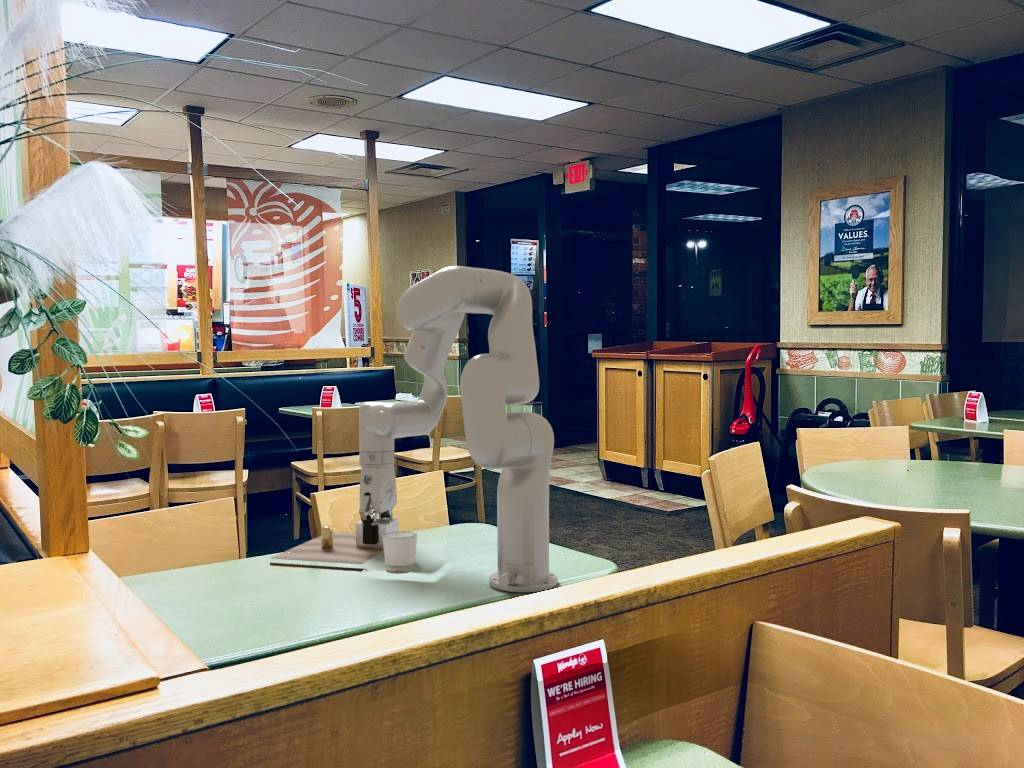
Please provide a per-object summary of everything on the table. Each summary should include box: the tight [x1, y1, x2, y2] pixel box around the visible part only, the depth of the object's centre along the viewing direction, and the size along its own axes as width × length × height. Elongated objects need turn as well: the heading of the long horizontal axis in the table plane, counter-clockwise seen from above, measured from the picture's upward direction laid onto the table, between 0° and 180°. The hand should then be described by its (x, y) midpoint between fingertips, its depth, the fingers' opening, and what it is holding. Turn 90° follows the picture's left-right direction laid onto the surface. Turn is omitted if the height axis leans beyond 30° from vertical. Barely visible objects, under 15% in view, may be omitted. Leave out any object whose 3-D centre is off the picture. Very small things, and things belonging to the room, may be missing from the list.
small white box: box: [355, 516, 400, 548], centre depth 172 cm, size 7×7×5 cm
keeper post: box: [320, 525, 334, 549], centre depth 169 cm, size 2×2×4 cm
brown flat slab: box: [269, 531, 384, 572], centre depth 170 cm, size 26×20×2 cm
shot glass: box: [382, 531, 418, 575], centre depth 156 cm, size 7×7×7 cm
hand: (377, 539), depth 172 cm, fingers closed on small white box, 7 cm apart
